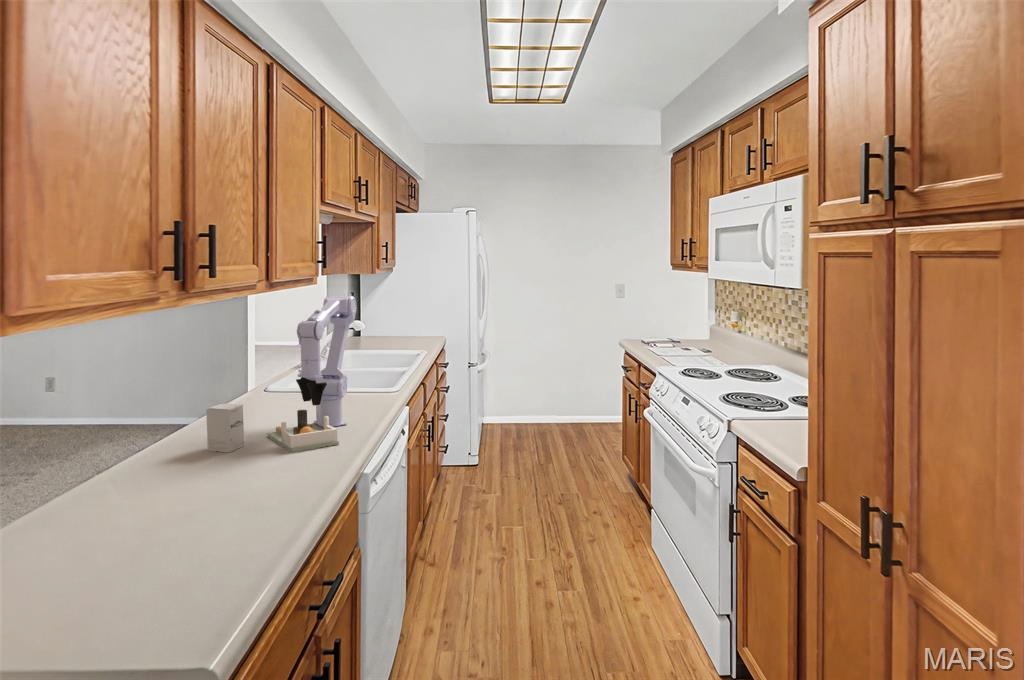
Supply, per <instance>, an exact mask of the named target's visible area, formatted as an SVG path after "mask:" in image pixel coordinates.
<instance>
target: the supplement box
mask: <svg viewBox="0 0 1024 680" xmlns="http://www.w3.org/2000/svg"><path fill="white" fill-rule="evenodd" d="M205 414H206V433H207V434H206V435H207V437H206V438H207V451H209V452H216V451H219V453H231V452H233V451H235V450H237V449H239V448H242V446H243V447H244V446H245V431H244V429H245V428H244V425H245V424H244V423H245V422H244V404H240V403H219V404H217V405H216V404H215V405H212V406H210V407H207V408H206V410H205Z"/></svg>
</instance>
